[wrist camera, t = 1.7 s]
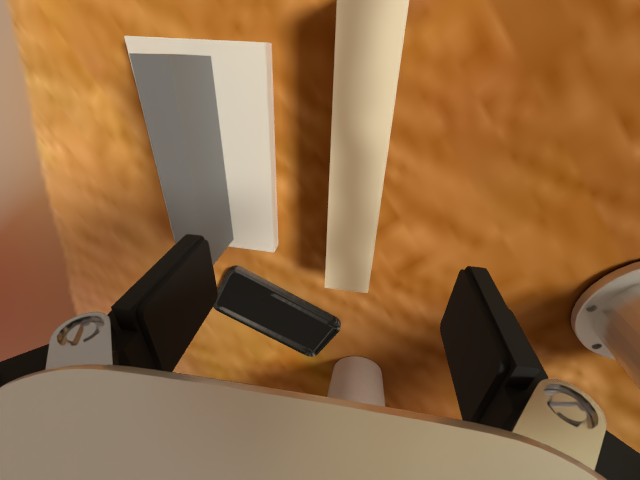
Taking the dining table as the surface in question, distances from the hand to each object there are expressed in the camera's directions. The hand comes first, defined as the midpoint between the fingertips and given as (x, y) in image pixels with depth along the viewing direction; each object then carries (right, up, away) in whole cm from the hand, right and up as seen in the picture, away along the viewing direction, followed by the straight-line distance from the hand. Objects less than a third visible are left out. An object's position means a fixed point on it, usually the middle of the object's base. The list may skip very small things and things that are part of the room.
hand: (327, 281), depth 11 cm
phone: (-6, -7, +27) cm, 28 cm away
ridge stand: (-10, +9, +17) cm, 22 cm away
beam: (+3, +9, +15) cm, 18 cm away
